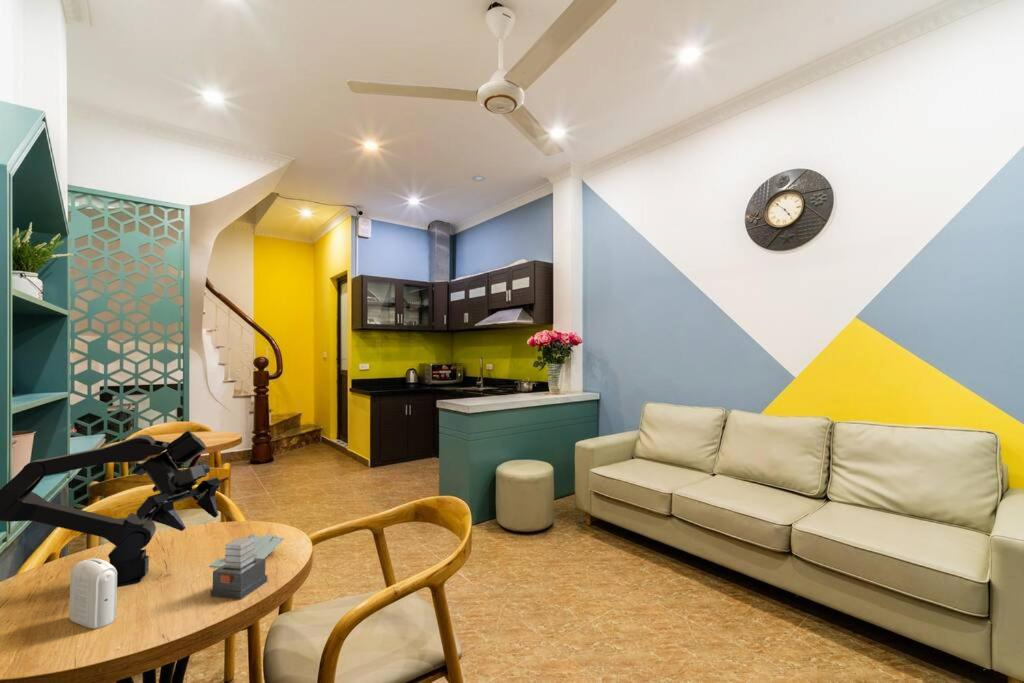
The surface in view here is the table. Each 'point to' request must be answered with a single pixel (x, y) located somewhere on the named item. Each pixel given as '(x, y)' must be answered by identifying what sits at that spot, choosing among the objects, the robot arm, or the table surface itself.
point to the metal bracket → (256, 548)
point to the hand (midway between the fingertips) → (200, 522)
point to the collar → (238, 580)
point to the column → (239, 554)
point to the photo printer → (93, 593)
